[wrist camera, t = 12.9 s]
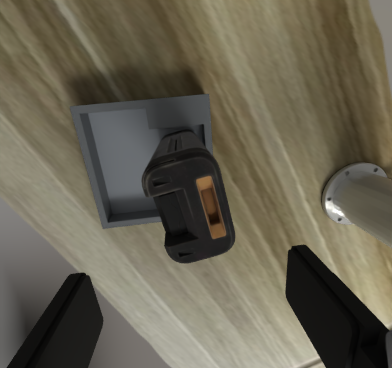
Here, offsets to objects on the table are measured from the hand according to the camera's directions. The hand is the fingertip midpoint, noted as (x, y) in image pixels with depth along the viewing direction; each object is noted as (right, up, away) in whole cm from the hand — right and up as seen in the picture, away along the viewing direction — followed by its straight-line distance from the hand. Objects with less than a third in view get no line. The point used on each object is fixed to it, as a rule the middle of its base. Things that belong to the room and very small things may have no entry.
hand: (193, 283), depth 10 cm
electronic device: (-2, +9, +25) cm, 27 cm away
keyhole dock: (-7, +9, +26) cm, 28 cm away
